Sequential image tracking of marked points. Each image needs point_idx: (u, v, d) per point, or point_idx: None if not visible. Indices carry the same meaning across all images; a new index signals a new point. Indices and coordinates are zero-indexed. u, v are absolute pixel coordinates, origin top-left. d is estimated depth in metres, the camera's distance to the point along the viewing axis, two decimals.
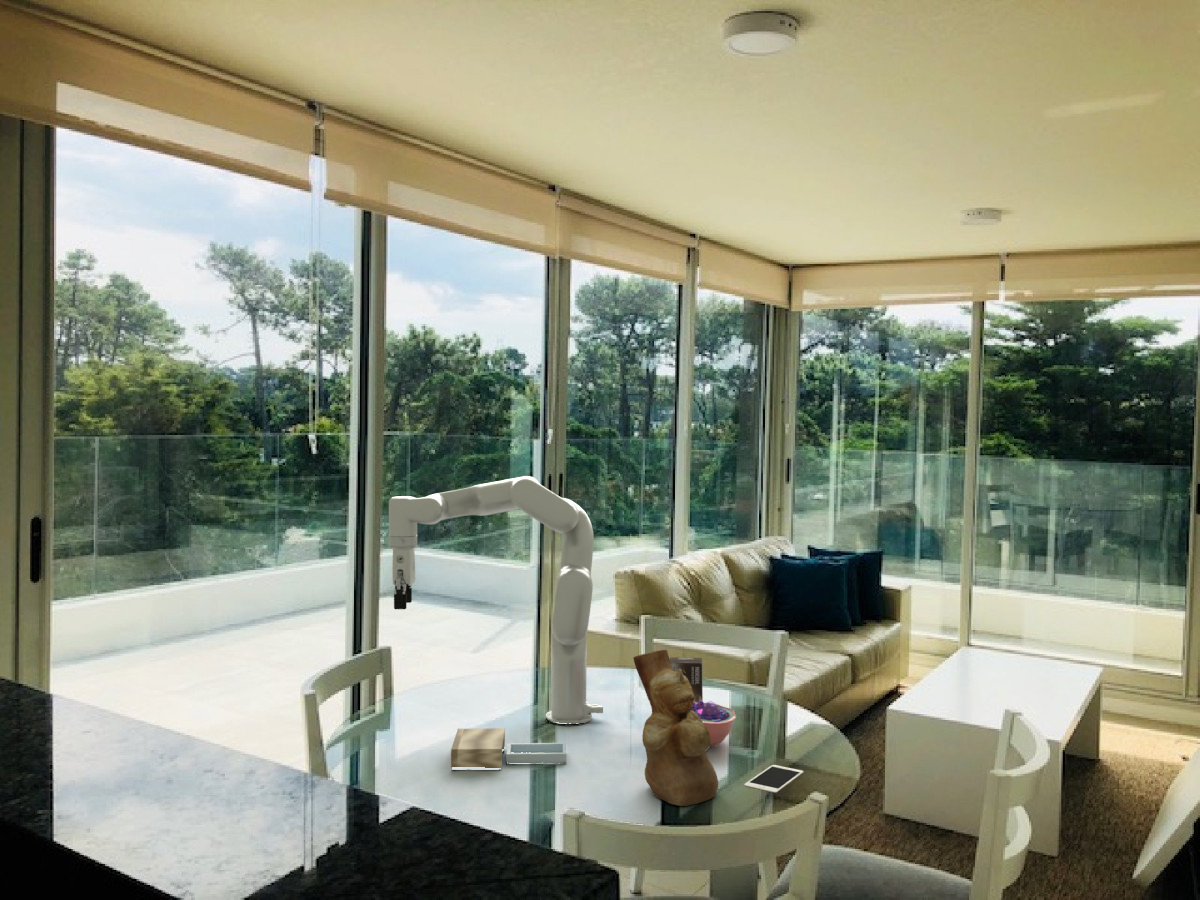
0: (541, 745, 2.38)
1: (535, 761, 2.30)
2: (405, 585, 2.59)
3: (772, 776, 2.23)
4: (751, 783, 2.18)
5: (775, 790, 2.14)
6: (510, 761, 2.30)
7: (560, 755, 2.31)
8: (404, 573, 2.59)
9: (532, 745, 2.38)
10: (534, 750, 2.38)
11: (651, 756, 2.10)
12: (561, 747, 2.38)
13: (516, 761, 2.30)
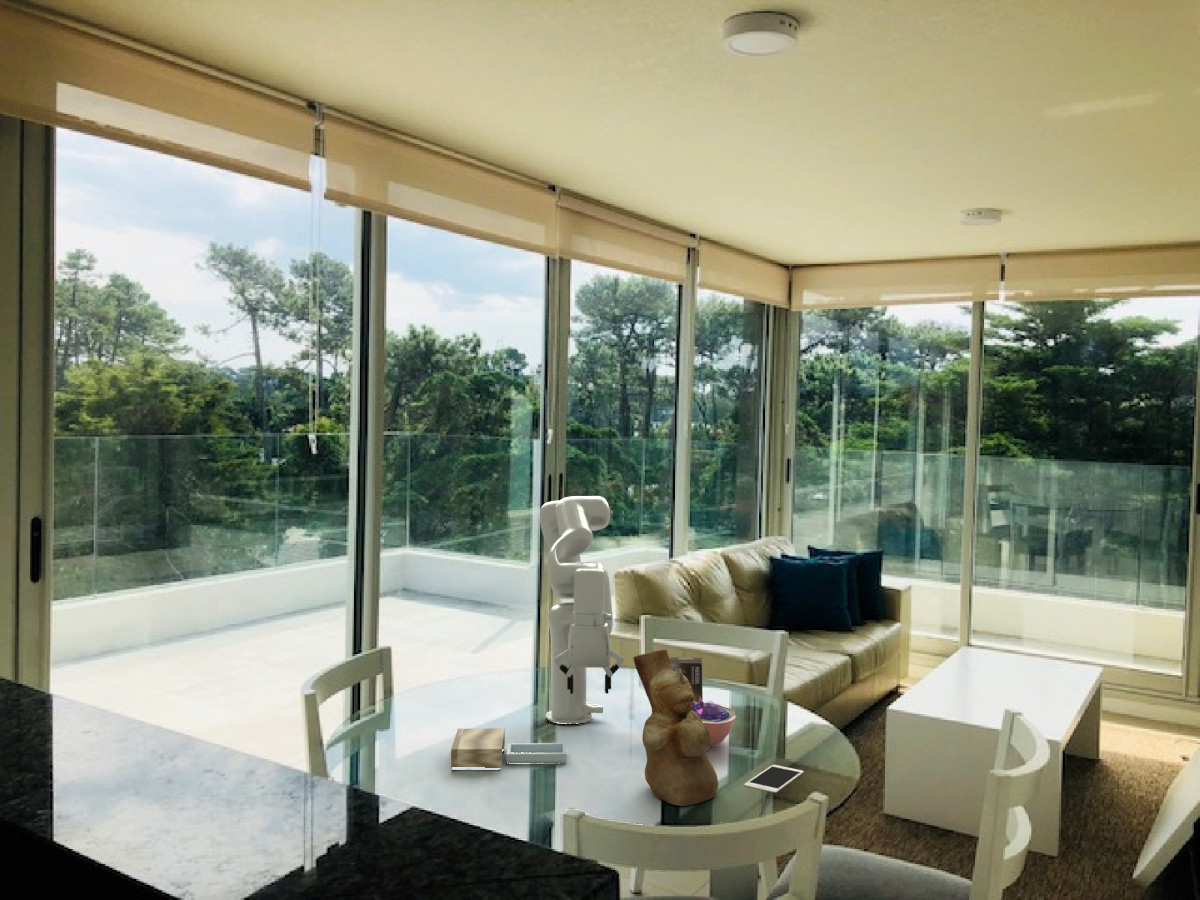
0: (541, 745, 2.38)
1: (535, 761, 2.30)
2: None
3: (772, 776, 2.23)
4: (751, 783, 2.18)
5: (775, 790, 2.14)
6: (510, 761, 2.30)
7: (560, 755, 2.31)
8: None
9: (532, 745, 2.38)
10: (534, 750, 2.38)
11: (651, 756, 2.10)
12: (561, 747, 2.38)
13: (516, 761, 2.30)
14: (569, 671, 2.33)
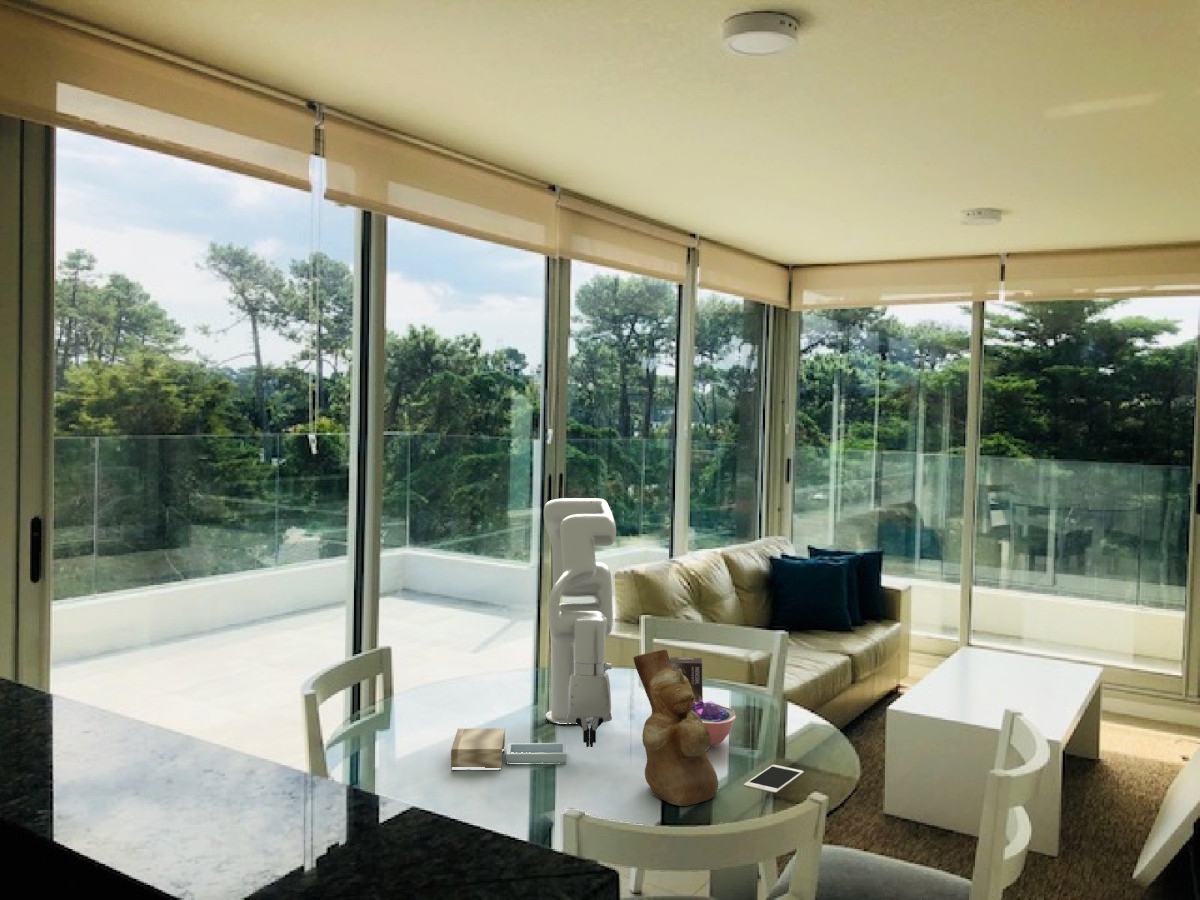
0: (541, 745, 2.38)
1: (535, 761, 2.30)
2: None
3: (772, 776, 2.23)
4: (751, 783, 2.18)
5: (775, 790, 2.14)
6: (510, 761, 2.30)
7: (560, 755, 2.31)
8: None
9: (532, 745, 2.38)
10: (534, 750, 2.38)
11: (651, 756, 2.10)
12: (561, 747, 2.38)
13: (516, 761, 2.30)
14: (583, 724, 2.33)
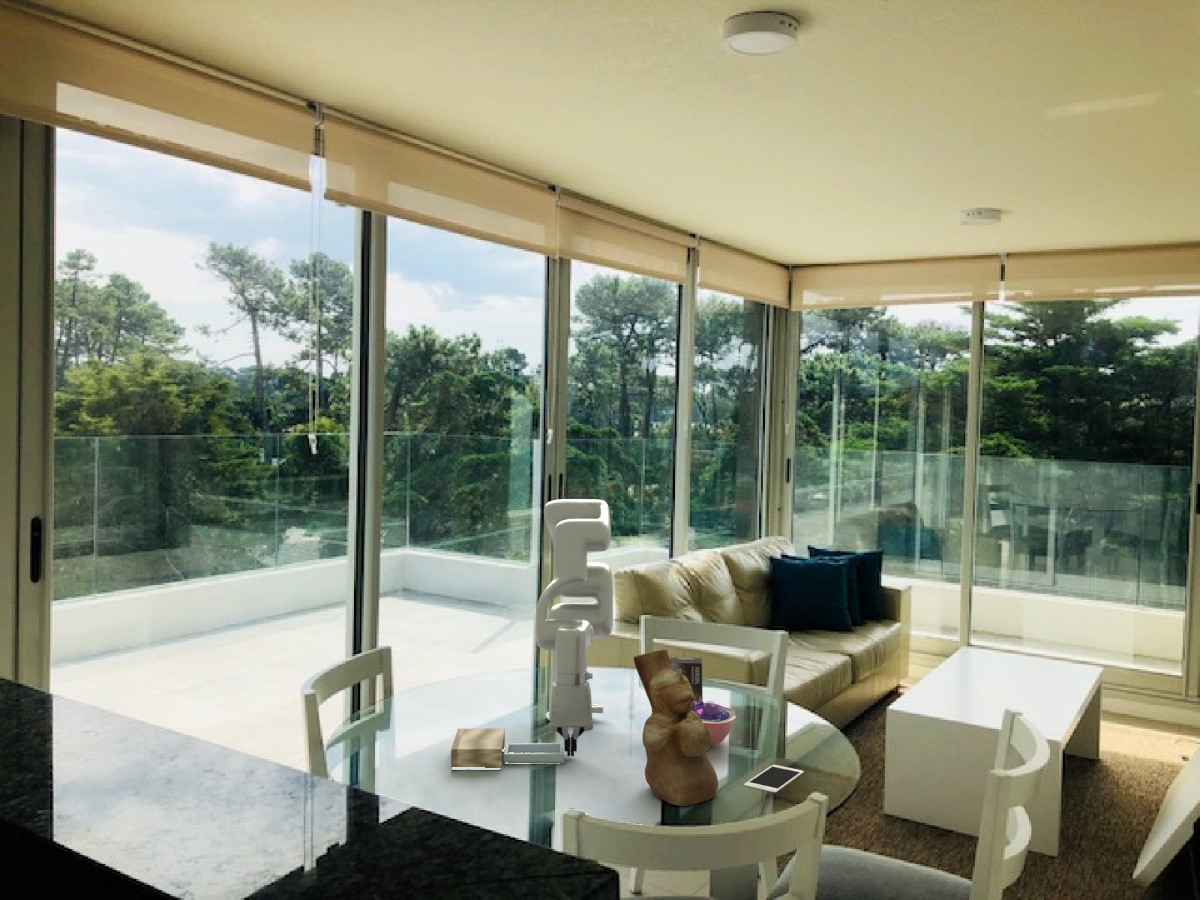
0: (538, 745, 2.38)
1: (532, 761, 2.30)
2: None
3: (772, 776, 2.23)
4: (751, 783, 2.18)
5: (775, 790, 2.14)
6: (507, 761, 2.30)
7: (557, 755, 2.31)
8: None
9: (529, 745, 2.38)
10: (531, 750, 2.38)
11: (651, 756, 2.10)
12: (558, 747, 2.38)
13: (513, 761, 2.30)
14: (564, 734, 2.33)
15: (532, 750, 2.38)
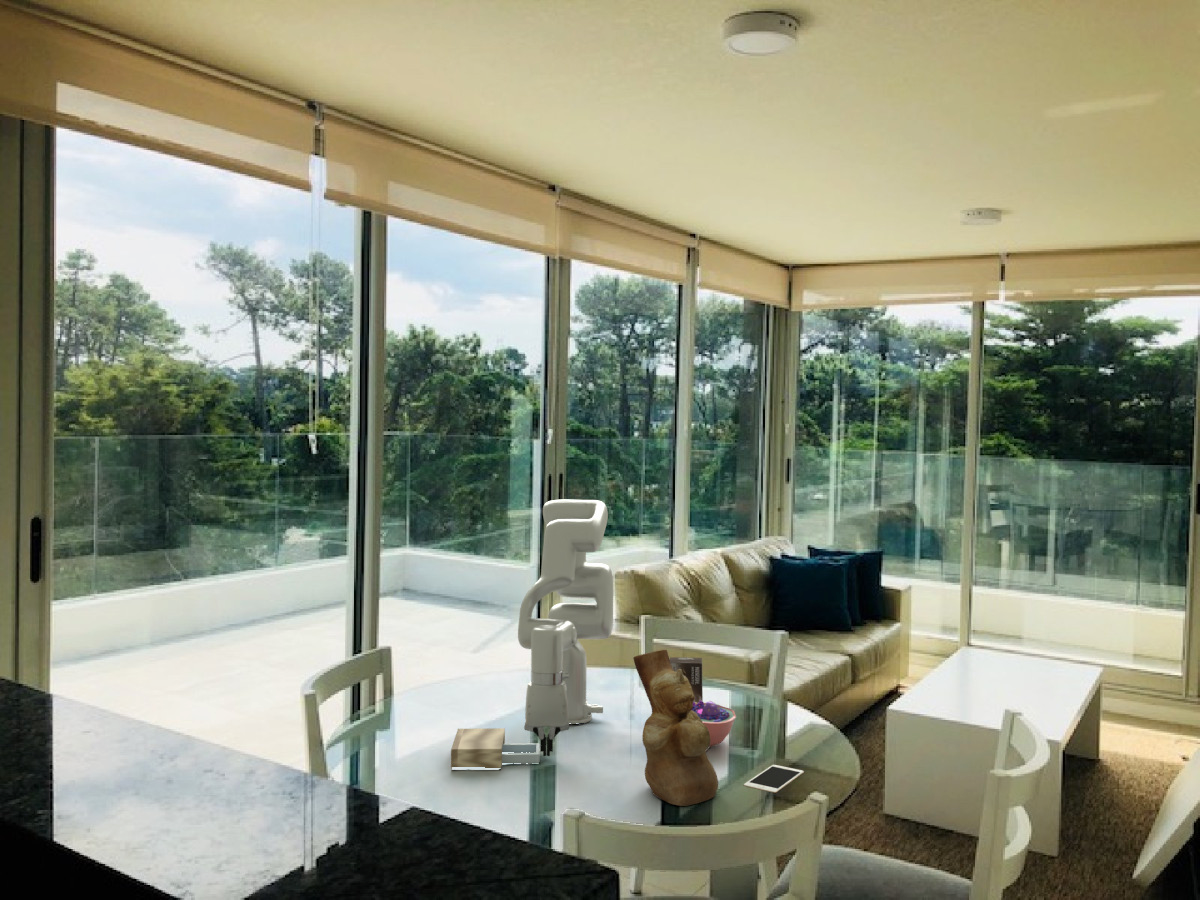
0: (515, 746, 2.37)
1: (508, 762, 2.30)
2: None
3: (772, 776, 2.23)
4: (751, 783, 2.18)
5: (775, 790, 2.14)
6: None
7: (533, 756, 2.30)
8: None
9: (506, 746, 2.37)
10: (508, 751, 2.37)
11: (651, 756, 2.10)
12: (535, 747, 2.37)
13: None
14: (540, 734, 2.33)
15: (508, 751, 2.37)
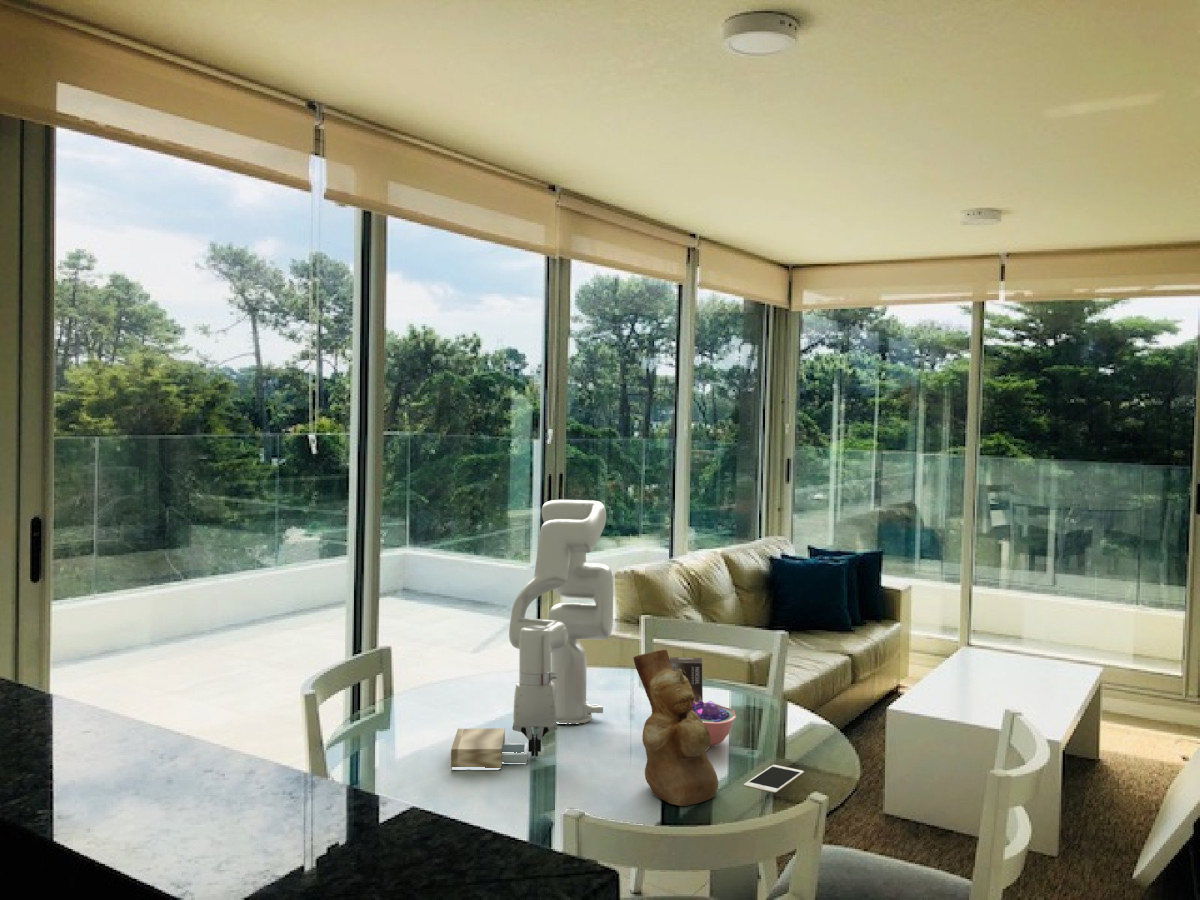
0: (503, 746, 2.37)
1: None
2: None
3: (772, 776, 2.23)
4: (751, 783, 2.18)
5: (775, 790, 2.14)
6: None
7: (521, 756, 2.30)
8: None
9: None
10: None
11: (651, 756, 2.10)
12: (523, 747, 2.37)
13: None
14: (528, 734, 2.33)
15: None
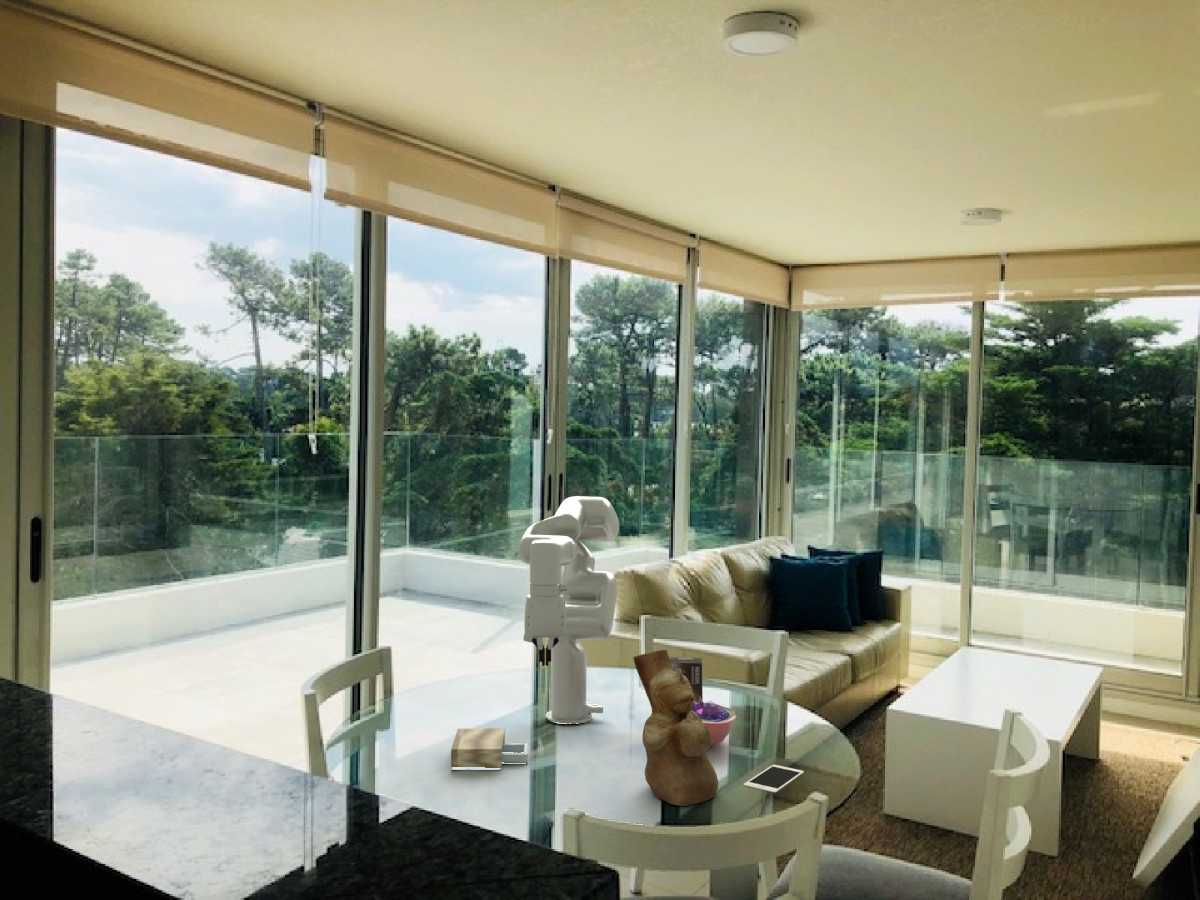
0: (503, 746, 2.37)
1: None
2: None
3: (772, 776, 2.23)
4: (751, 783, 2.18)
5: (774, 790, 2.14)
6: None
7: (521, 755, 2.30)
8: None
9: None
10: None
11: (651, 756, 2.10)
12: (523, 747, 2.37)
13: None
14: (538, 644, 2.39)
15: None
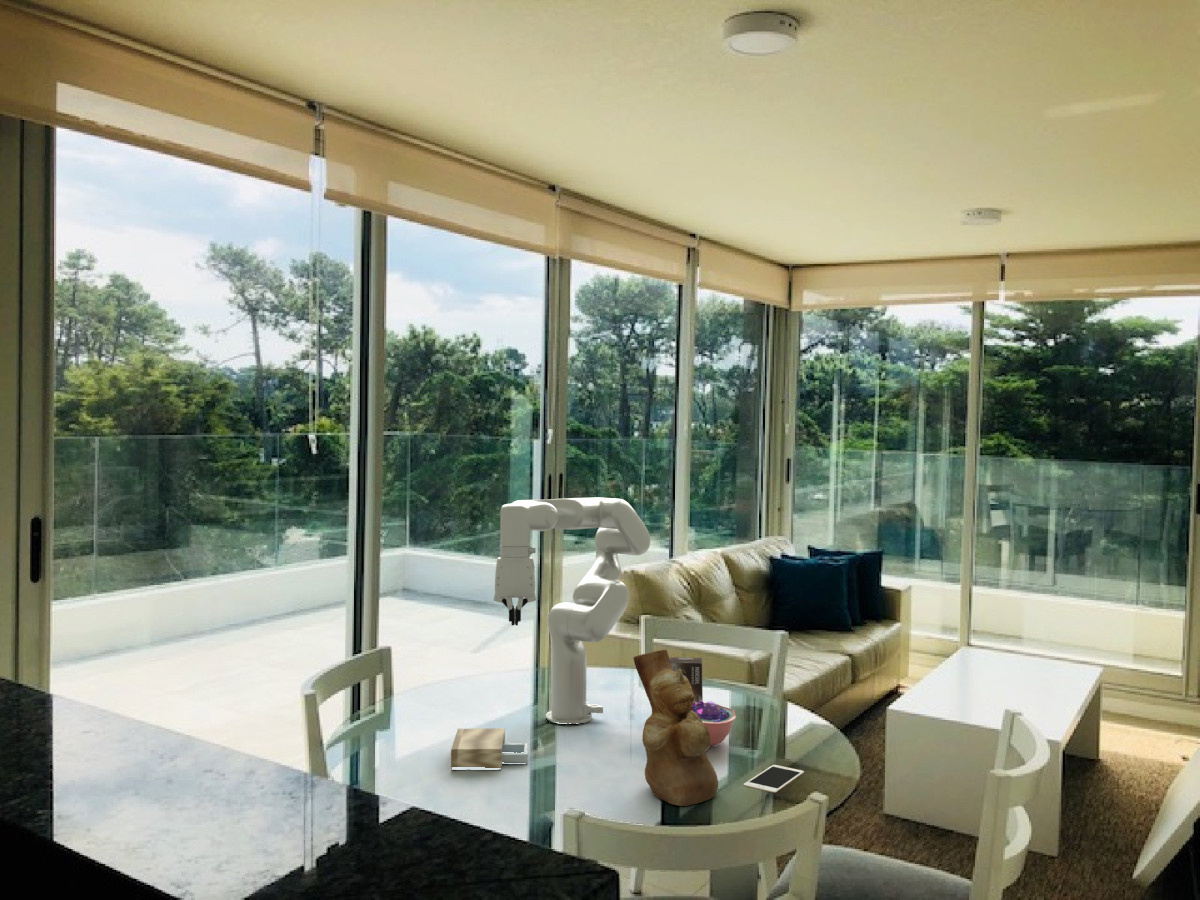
0: (503, 746, 2.37)
1: None
2: None
3: (772, 776, 2.23)
4: (751, 783, 2.18)
5: (774, 790, 2.14)
6: None
7: (521, 755, 2.30)
8: None
9: None
10: None
11: (651, 756, 2.10)
12: (523, 747, 2.37)
13: None
14: (508, 604, 2.48)
15: None
